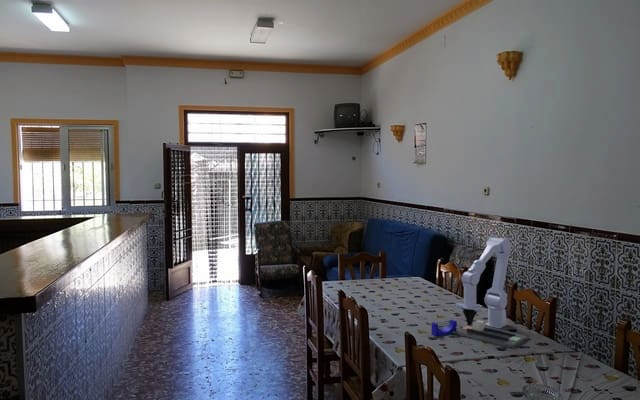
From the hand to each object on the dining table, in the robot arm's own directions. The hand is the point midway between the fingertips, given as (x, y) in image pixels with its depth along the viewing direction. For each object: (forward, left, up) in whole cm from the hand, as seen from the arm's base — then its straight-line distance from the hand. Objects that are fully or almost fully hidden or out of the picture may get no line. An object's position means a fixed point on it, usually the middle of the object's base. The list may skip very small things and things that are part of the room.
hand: (469, 324), depth 240 cm
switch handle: (0, +5, -2) cm, 5 cm away
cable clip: (+11, -8, -4) cm, 14 cm away
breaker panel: (0, +10, -3) cm, 11 cm away
